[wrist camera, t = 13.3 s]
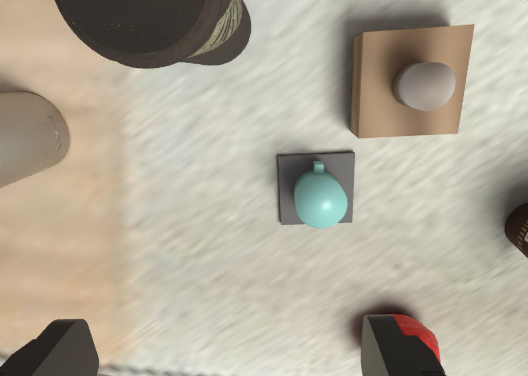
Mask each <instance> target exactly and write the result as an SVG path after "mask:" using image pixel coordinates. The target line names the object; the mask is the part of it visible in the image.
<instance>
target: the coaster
mask: <svg viewBox="0 0 528 376" xmlns="http://www.w3.org/2000/svg"><path fill="white" fill-rule="evenodd" d="M313 161H322V162H323V164H324V170H326V171H328V172H330V173H331V174H333V175H334V176H335V178H336V179H337V181H338V182H339V184H340V186H341V188H342V189H343V191H344V193H345V195H346V197H347V210H346V213H345V215H344V216H343V218H342V219H341V220H340V221H339V222H338V223H352V213H353V189H354V165H355V153H354V152H346V153H325V154H304V155H283V156H278V168H279V190H280V212H281V225H294V224H305V223H304V222H303V221H302V220H301V219H300V218H299V216H298V214H297V211H296V205H295V199H294V186H295V183H296V181H297V179H298V178H299V177H300V176H301V175H302V174H303V173H305V172H307V171H309V170H313Z"/></svg>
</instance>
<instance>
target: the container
mask: <svg viewBox="0 0 528 376" xmlns="http://www.w3.org/2000/svg"><path fill="white" fill-rule="evenodd" d="M55 2H56V4H57V6H58V9H59V11H60V13H61V14H62V16H63V18H64V20H65V21H66V23H67V24H68V26H69V27H70V28H71V30H72V31H73V32H74V33H75V34H76V35H77V36H78V38H79V39H80V40H82V41H83V42H84V43H85V44H86V45H87V46H88V47H90V48H91V49H92V50H94V51H95V52H97V53H98V54H100V55H101V56H103V57H105V58H107V59H109V60H112V61H117V62H119V63H120V64H123V65H126V66H129V67H134V68H143V69H151V68H160V67H165V66H169V65H172V64H175V63H177V62H186V63H194V64H201V65H221V64H225V63H228V62H230V61H232V60H233V59H235V58H236V57H237V56H238V55H239V54H240V53H241V52H242V51H243V50H244V48H245V47H246V45H247V43H248V41H249V38H250V34H251V20H250V16H249V13H248V10H247V8H246V6H245V4H244V2H243V0H55Z"/></svg>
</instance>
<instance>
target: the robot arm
mask: <svg viewBox="0 0 528 376" xmlns="http://www.w3.org/2000/svg"><path fill="white" fill-rule="evenodd" d="M68 147H69V133H68V128H67V126H66V123H65V121H64V119H63V117H62V116H61V114H60V113H59V112H58V110H57V109H56V108H55V107H54V106H53V105H52V104H51V103H49V102H48V101H47V100H45V99H44V98H42V97H40V96H38V95H35V94H32V93H28V92H11V93H0V188H2V187H4V186H7V185H9V184H11V183H14V182H16V181H19V180H21V179H23V178H26V177H28V176H31V175H33V174H35V173H38V172H40V171H42V170H45V169H47V168H49V167H52V166H54V165H55V164H57V163H59V162H60V161H61V160H62V159H63V158H64V156H65V155H66V153H67V151H68ZM98 367H99V358H98V354H97V351H96V348H95V345H94V342H93V339H92V336H91V333H90V329H89V326H88V324H87V322H86V321H85V320H84V319H58V320H54V321H53V322H51V323H50V324H49V325H48V326H47V327H46V329H45V330H44V331H43V332H42V333H41V334H40V335H39V336H38V337H37V339H33V340H32V341H30V342H29V343H27V344H26V345H25V346H23V347H22V348H21V349H19V350H18V351H16V352H15V353H14V354H12V355H11V356H10V357H9V358H8V360H7V361H6V362H5V363H4V364H3V365H2V366H1V367H0V376H97V372H98ZM361 367H362V374H363V376H447V375H445V371H444V369H443V368H442V366H441V364H440V362H439V360H438V359H437V357H436V355H435V353H434V351H433V350H432V349H430V348H429V347H428V346H427V345H426V344H425V343H424V342H423V341H422V340H421V339H420V338H419V337H418V336H417V335H403V333H402V331H401V329H400V327H399V325H398V323H397V321H396V319H395V317H394V316H393V315H364V318H363V329H362V345H361Z"/></svg>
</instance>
